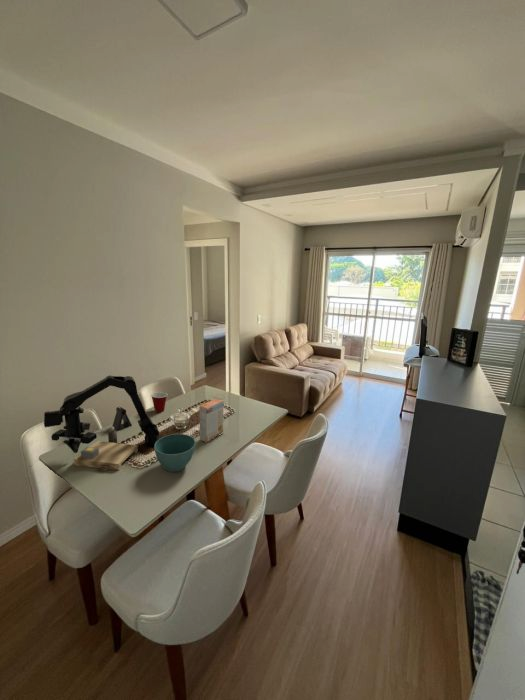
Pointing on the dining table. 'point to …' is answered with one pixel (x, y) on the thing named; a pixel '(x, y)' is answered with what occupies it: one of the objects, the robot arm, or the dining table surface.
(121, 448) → the wooden board
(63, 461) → the dining table surface
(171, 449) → the teal bowl
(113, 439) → the bottle
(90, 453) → the stud finder
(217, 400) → the cracker box
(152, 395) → the plastic cup
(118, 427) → the phone stand
